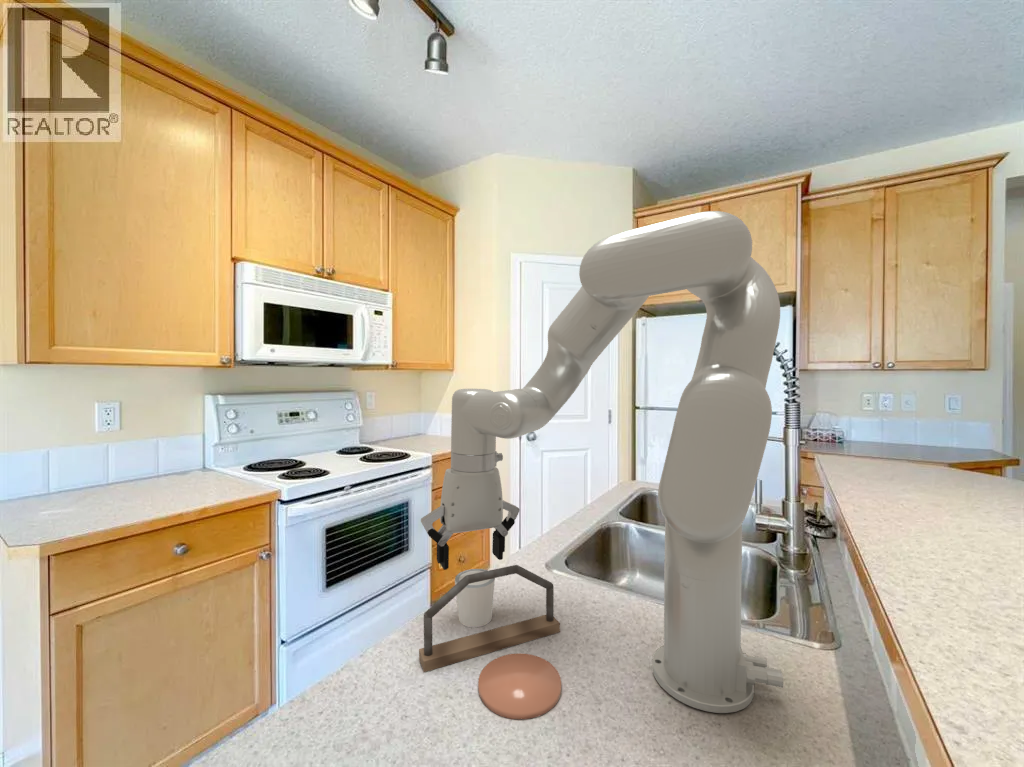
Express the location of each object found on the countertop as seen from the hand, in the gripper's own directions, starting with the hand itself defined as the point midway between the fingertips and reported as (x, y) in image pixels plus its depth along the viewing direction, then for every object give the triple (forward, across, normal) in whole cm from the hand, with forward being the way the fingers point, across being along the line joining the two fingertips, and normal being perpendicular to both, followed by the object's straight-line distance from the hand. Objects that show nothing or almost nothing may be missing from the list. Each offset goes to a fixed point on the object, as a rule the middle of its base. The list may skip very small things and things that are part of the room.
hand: (471, 561), depth 74 cm
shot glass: (+10, -1, +1) cm, 10 cm away
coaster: (+9, 0, +18) cm, 21 cm away
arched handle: (+9, -1, +9) cm, 13 cm away
